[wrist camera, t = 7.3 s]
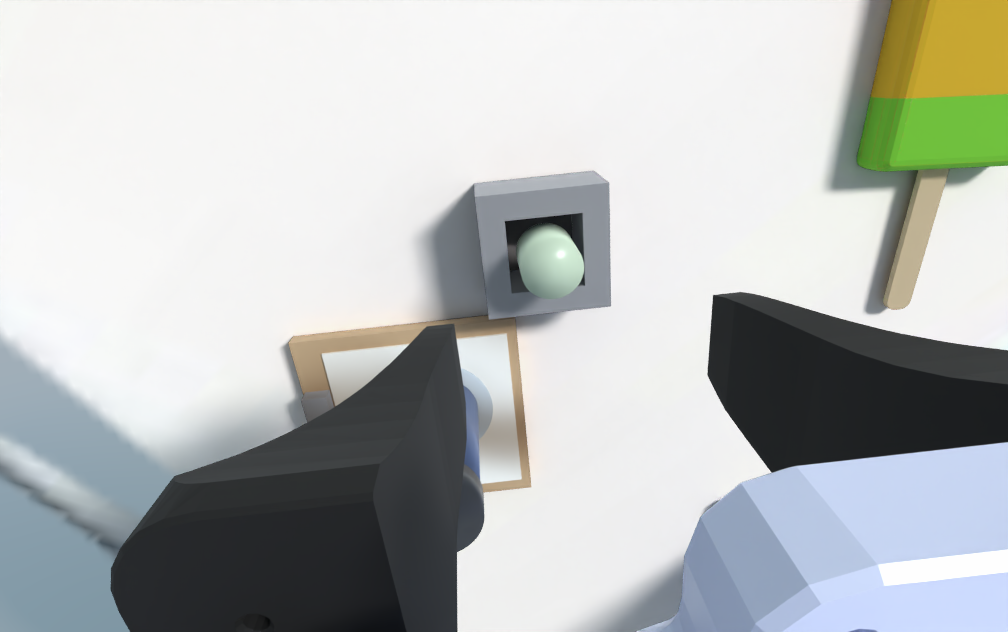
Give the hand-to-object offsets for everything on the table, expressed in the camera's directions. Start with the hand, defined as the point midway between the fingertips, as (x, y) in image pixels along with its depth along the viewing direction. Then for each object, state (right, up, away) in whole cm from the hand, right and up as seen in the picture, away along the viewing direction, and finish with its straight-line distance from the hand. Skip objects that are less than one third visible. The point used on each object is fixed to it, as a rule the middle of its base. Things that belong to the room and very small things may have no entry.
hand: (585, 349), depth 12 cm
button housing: (-1, +4, +9) cm, 9 cm away
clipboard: (-5, -3, +12) cm, 13 cm away
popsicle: (+14, +8, +8) cm, 18 cm away
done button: (0, +3, +7) cm, 7 cm away
